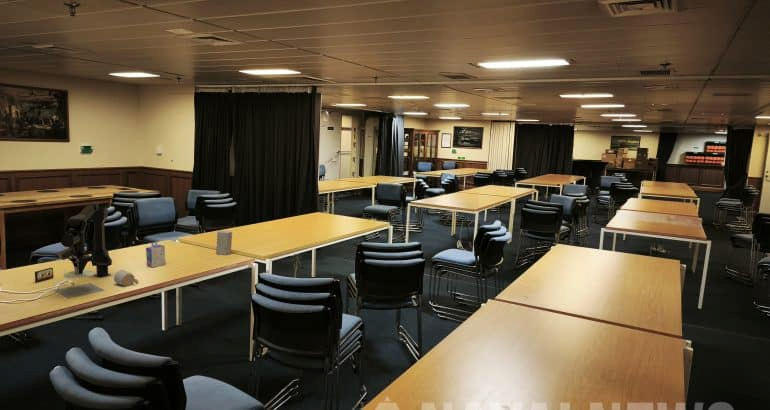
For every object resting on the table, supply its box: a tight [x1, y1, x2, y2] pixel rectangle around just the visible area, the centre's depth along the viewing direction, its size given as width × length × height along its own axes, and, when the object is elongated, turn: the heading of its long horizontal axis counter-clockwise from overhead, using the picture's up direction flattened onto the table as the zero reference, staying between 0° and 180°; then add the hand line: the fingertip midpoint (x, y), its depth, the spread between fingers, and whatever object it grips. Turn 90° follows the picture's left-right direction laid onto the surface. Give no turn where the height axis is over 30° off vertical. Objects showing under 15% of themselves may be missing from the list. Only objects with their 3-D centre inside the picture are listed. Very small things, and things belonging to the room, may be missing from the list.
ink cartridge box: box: [145, 241, 166, 268], centre depth 288 cm, size 10×6×14 cm, turn 155°
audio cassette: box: [34, 267, 55, 283], centre depth 251 cm, size 9×1×6 cm, turn 164°
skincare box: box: [215, 230, 233, 256], centre depth 324 cm, size 8×7×16 cm
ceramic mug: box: [113, 269, 139, 287], centre depth 251 cm, size 11×8×8 cm
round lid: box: [62, 266, 95, 280], centre depth 236 cm, size 13×13×4 cm
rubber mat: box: [54, 282, 106, 299], centre depth 237 cm, size 17×17×1 cm
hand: (78, 272), depth 236 cm, fingers closed on round lid, 4 cm apart
